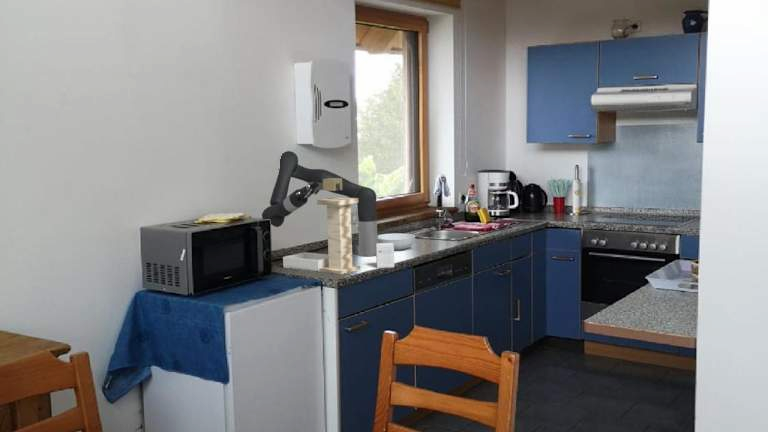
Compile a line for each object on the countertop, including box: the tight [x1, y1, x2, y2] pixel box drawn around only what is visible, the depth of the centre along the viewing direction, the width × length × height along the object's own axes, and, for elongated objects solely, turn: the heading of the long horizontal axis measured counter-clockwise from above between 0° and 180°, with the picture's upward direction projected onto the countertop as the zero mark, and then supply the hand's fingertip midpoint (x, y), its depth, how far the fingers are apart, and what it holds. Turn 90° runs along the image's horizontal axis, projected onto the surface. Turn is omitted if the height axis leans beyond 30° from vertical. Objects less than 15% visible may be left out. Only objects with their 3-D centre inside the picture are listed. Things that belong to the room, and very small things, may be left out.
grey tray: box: [282, 251, 329, 273], centre depth 361 cm, size 15×21×5 cm
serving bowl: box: [377, 232, 416, 252], centre depth 408 cm, size 21×21×7 cm
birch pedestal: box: [316, 196, 361, 275], centre depth 349 cm, size 14×12×32 cm
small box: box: [375, 243, 395, 269], centre depth 358 cm, size 8×6×10 cm
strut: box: [307, 178, 342, 192], centre depth 351 cm, size 6×16×5 cm, turn 54°
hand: (319, 183), depth 352 cm, fingers closed on strut, 3 cm apart
